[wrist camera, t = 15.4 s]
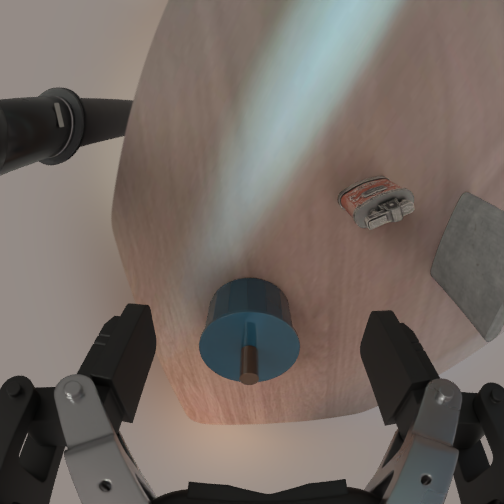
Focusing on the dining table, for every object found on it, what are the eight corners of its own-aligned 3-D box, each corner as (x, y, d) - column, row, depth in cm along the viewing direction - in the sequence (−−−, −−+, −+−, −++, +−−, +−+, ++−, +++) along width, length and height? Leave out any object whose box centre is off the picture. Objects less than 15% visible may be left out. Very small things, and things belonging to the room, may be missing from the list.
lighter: (385, 171, 37) (421, 189, 28) (391, 192, 38) (426, 216, 29) (334, 191, 39) (358, 215, 29) (342, 213, 40) (366, 242, 31)
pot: (196, 320, 48) (188, 356, 40) (235, 263, 43) (231, 296, 36) (261, 350, 51) (262, 387, 43) (304, 300, 46) (313, 336, 38)
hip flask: (440, 278, 45) (501, 353, 27) (424, 275, 44) (486, 354, 26) (474, 195, 38) (559, 247, 20) (459, 187, 38) (548, 239, 20)
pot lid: (184, 354, 41) (177, 386, 35) (230, 288, 36) (227, 321, 30) (263, 386, 44) (264, 418, 38) (318, 332, 39) (327, 365, 33)
